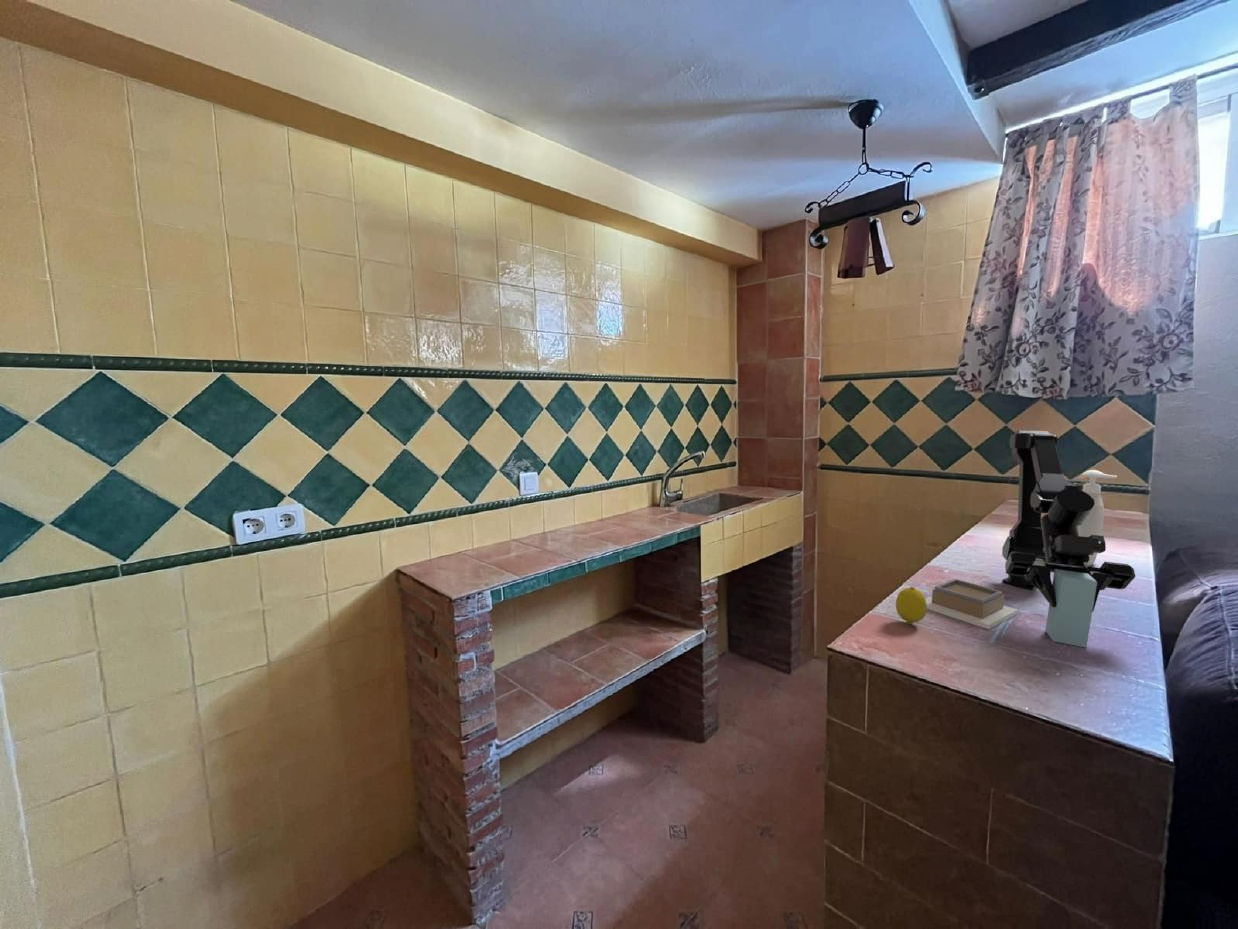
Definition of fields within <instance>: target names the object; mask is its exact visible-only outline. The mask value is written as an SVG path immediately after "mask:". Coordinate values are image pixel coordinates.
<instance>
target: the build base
mask: <svg viewBox="0 0 1238 929" xmlns="http://www.w3.org/2000/svg"><path fill="white" fill-rule="evenodd" d="M931 593H932V594H931V595H930V596H928V597H925V599H926V604H927V610H929V611H931V612H935V613H938V614H941V615H945V616H947V617H950V618H953V619H956V620H959V621H963V622H965V623H968V624H971V625H974V626H976V627H979V628H983V629H985V630H991V629H992V628H994V627H997V626H998V625H1000V624H1001V623H1003V622H1005V621H1007V620H1009V619H1011V618H1013V617H1014V616H1016V615H1017V614H1018V609H1017V608H1013V607H1010V606H1008V605H1004V600H1005V595H1004V594H1003V591H1001V590H997V589H994V588H991V587H986V586H983V585H980V584H975V583H973V582H968V581H965V580H961V579H957V578H954V579H951V580H948V581H945V582H943V583H940V584H938V585H936V586H934V589H932V592H931Z"/></svg>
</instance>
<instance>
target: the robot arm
mask: <svg viewBox="0 0 1238 929" xmlns="http://www.w3.org/2000/svg"><path fill="white" fill-rule="evenodd" d="M1057 445H1058V434H1053V433H1052V432H1051V433H1050V432H1049V431H1048V430H1024V429H1023V430H1022V429H1018V430H1017V431H1016V432H1015V433H1014V434H1011V435H1010V438H1009V448H1011V455H1012V457H1013V458H1014V460H1015V461H1016V462H1017V464H1018V465H1019V472H1018V473H1019V474H1018V500H1017V502H1018V504H1017V507H1018V508H1017V522H1016V523H1015V524H1014V525H1013V526H1012V528H1011V529H1009V534H1008V536H1007V537H1006V539H1005V541H1004V543H1003V546H1002V549H1001V550H1002V551H1001V553H1002V554H1001V556H1002V557H1003V558H1004V560H1005V566H1004V567H1005V573H1006V574H1007V576H1008V577H1005V578H1003V579H1002V580H1001V583H1005V584H1010V585H1013V586H1016V587H1021V588H1025V589H1028V590H1035V589H1038V591H1039V592H1040V593H1041V594H1042V595H1043V598H1045V599H1046V601H1047V603H1048V604H1050V605H1051V606H1052V607H1055V606H1056V598H1055V594H1054V590H1053V586H1052V583H1053V581H1052V579H1051V577H1052V576H1051V573H1054V570H1055V569H1058V570H1066V571H1073V572H1080V573H1087V574H1089V575H1090V576H1091V577H1092V578H1093V579H1094V580H1096V581H1097V586H1096V593H1095V599H1094V605H1093V611H1092V613H1093V612H1094V610H1095V606H1096V604H1097V601H1098V597H1099V593H1100V591H1104V590H1105V589H1107V588H1108V589H1114V590H1124V589H1126V588H1127V587H1128V586H1129V584H1131V582H1132V581H1133V580H1135V578H1136V573H1135V568H1133V567H1132V565H1129V563H1121V562H1112V561H1104V562H1103V563H1102V564H1101V566H1100V567H1095V566H1084V562H1088V561H1089V560H1090V559H1089V555H1093V553H1097V554H1102V553H1104V552H1106V550H1107V549H1106V548H1107V547H1106V546H1107V545H1106V540H1105V537H1104V535H1102V536H1100V535H1091V536H1089V537H1083V536H1079V534H1078V528H1077V526H1079V525H1082V524H1083V522H1084V520H1085V519H1086V517H1087V516H1088V514H1089V513H1090V511H1091V510H1092V508H1093V506H1094V499H1093V498H1092V497H1091V496H1090V495H1089V494H1087V493H1085V492H1084V491H1083V490H1081V489H1079V485H1075V484H1073V483H1072V482H1070V481H1069V480H1067V479H1066V478H1065V477H1064V474H1063V470H1062V466H1061V461H1060V457H1059V454H1058V449H1057V448H1058V447H1057ZM1042 514H1044V515H1043V516H1042Z"/></svg>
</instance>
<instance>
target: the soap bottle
mask: <svg viewBox="0 0 1238 929" xmlns="http://www.w3.org/2000/svg"><path fill="white" fill-rule="evenodd" d="M1081 477H1086V478H1089V482H1086V483H1085V484H1083V485H1082V491H1084V492H1085V493H1087V494H1089V495H1090V496H1091V497H1092V498H1093V499H1094V506H1093V508H1092V510H1091V511H1090V513H1089V514H1088V516H1087V517H1086V519H1085V520H1084V522H1083V524H1082V525H1079V526H1077V528H1078V534H1079V536H1083V537H1089V536H1091V535H1100V536H1103V528H1104V520H1105V519H1104V518H1105V508H1104V506H1105V504H1104V502H1103V499H1102V495H1101V491H1102V490H1101V488H1102V486H1101V485H1100V484H1099V483H1096V480H1097V479H1099V478H1100V479H1116V478H1118V475H1116V474H1115V475H1112V474H1106V473H1103V472H1102V471H1100V470H1096V469H1090V470H1089V469H1088V470H1086V471H1084V472H1083V473H1082V474H1081ZM1097 555H1098V553H1093V555H1089V559H1090V560H1089V561H1088V562H1084V566H1087V567H1092V565H1094V564H1095V562H1096V559H1097Z"/></svg>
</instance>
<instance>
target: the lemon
mask: <svg viewBox="0 0 1238 929" xmlns="http://www.w3.org/2000/svg"><path fill="white" fill-rule="evenodd" d="M925 598H926V597H925V595H924V594H923V593H922V592H921V591H920V590H918V589H916V587H914V586H910V587H907V588H904V589H902V590H900V592H898V595H897V597H896V600H895V609H896V612H897V614H898V616H899V617H900V618H901V619H902V620H904V621H906V623H907V624H909V625H912V624H914V623H919V622H920V621H921V620H923V618H924V617H925V616H926V615H927V610H928V609H927V604H926V599H925Z"/></svg>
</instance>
